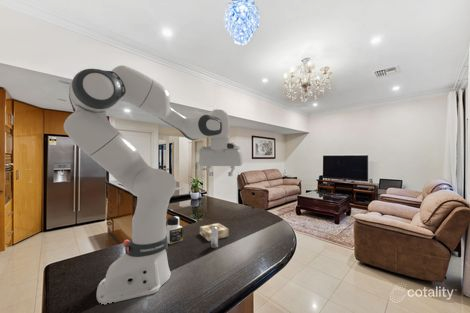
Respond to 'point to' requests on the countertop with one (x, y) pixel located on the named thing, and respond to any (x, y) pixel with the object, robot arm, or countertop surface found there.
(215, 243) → the pin
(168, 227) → the medicine bottle
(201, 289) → the countertop surface
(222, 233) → the socket block
